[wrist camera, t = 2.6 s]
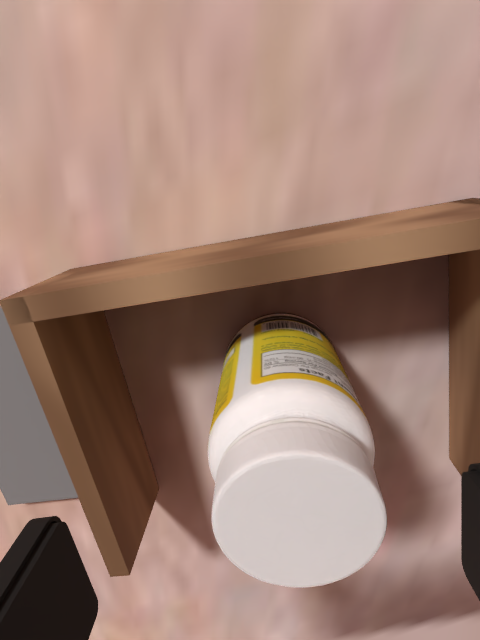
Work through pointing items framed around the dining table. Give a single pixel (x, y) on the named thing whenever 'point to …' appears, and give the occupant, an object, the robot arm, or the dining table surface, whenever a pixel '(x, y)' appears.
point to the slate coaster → (26, 435)
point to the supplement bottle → (292, 459)
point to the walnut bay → (201, 278)
